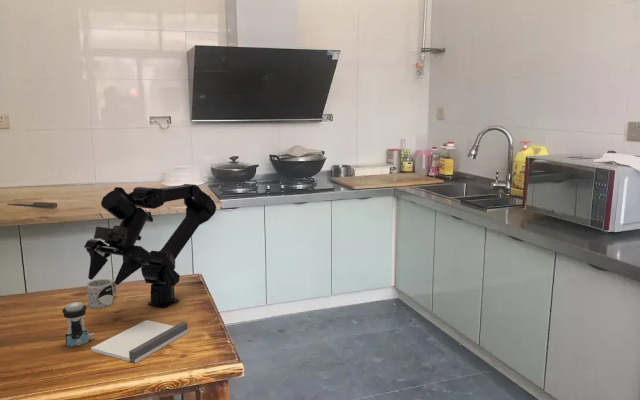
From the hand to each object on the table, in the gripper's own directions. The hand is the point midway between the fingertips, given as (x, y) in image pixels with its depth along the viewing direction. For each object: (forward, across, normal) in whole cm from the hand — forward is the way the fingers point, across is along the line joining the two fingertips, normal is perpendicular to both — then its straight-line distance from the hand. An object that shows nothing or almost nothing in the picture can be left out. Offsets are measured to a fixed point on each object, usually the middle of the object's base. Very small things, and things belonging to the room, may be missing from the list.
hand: (102, 281), depth 130 cm
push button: (+15, 0, +3) cm, 16 cm away
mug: (+1, -16, +19) cm, 25 cm away
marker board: (+11, +13, +8) cm, 19 cm away
